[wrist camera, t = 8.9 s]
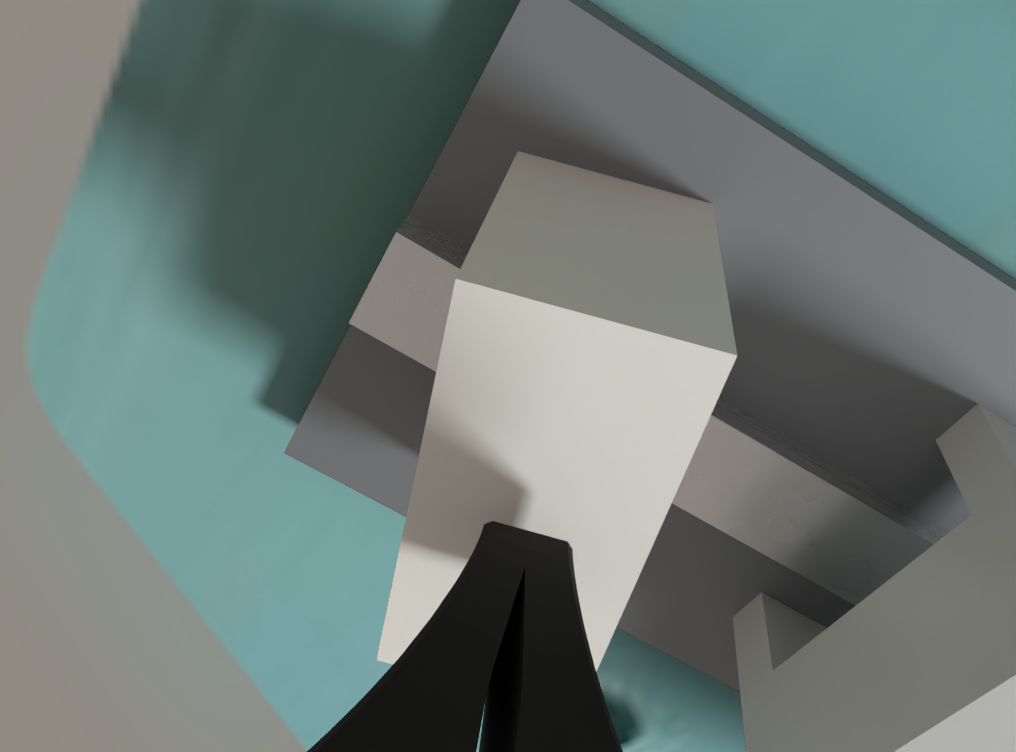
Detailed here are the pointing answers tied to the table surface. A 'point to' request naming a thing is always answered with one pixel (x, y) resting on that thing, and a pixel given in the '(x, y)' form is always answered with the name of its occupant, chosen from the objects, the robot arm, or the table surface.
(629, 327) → the block
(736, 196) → the rail board
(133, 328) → the table surface
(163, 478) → the table surface
